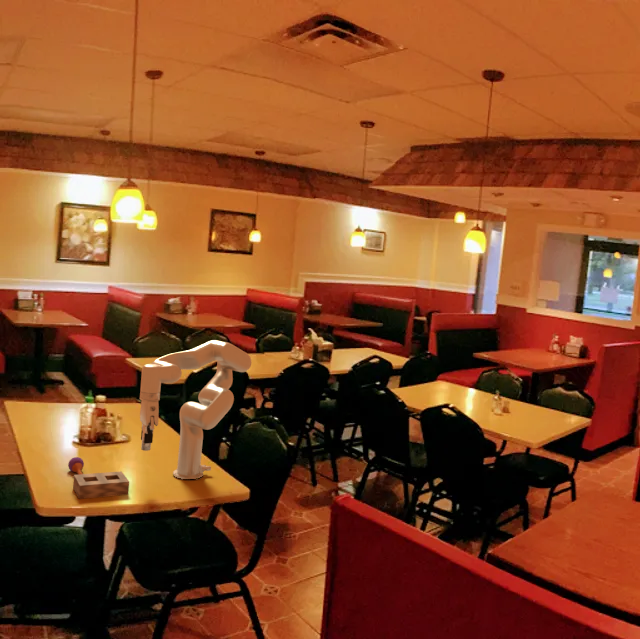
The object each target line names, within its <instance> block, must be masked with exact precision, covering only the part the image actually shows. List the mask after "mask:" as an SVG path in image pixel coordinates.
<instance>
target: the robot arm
mask: <svg viewBox="0 0 640 639" xmlns="http://www.w3.org/2000/svg"><path fill="white" fill-rule="evenodd" d="M214 361H216V363H217V365H216V373H215V374H214V376H213V377H212V378H211V379H210V380H209V381H208V382H207V383H206V385H204V387H203V388H202V389H201V390H200V391H199V393H198V401H199V402H196V401H187V402H185V403H183V405H182V406H181V407H180V409H179V421H180V422H179V423H180V432H179V436H180V437H179V447H178V455H177V456H178V457H177V468H176V469H175V470H173V471H172V475H174V476H175V478H176V477H177V478H176V479H178V478H181V479H180V480H183V479H196V478H200V477H202V476H203V477H204V471H205V472H207V471H209V472H210V471H211V470H212V466H211V465H206V464H201V460H202V451H203V450H202V449H203V440H204V431H203V430H207V431H208V430H211V429H213V428H215V427H216V426H217V425H218V423H219V422H220V421H221V420H222V419H223V418H224V417H225V415H226V414H228V412H229V411H230V410H231V408H232V407H233V404H234V401H235V398H234V397H235V396H234V394H233V392H232V391H231V390H230V388H231V387H232V386H233V380H234V378H233V371H235V372H239V373H245V372H247V371H249V369H251V366H252V358H251V356H250V355H249V353H247V352H246V351H243V350H242V349H240V348H239V347H237V346H235V345H234V344H232V343H230V342H227V341H221V340H218V339H212V340H208V341H206V342H205V343H202V344H200V345H198V346H195V347H193V348H191V349H188V350H183V351H178V352H173V353H169V354H166V355H163V356H161V357H159V358H156V359H155V360H154V361H152V362H151V363H147V364H144V365H143V366H142V368H141V377H140V378H141V380H140V393H139V400H140V401H141V402H140V408H139V410H140V411H139V421H140V422H141V434H140V436H141V437H140V440H141V441H142V433H143V424H144V425H145V426H146V433H145V434H144V443H145V444H146V443H151V444H153V441H154V440H153V438H154V430H155V427H157V426H159V415H160V414H159V413H160V412H159V408H160V406H159V401H160V400H161V399H160V398H161V386H162V384H163V383H164V384H165V383H167V384H169V383H170V384H172V383H173V384H174V383H176V382H178V381H179V380H180V379H181V377H182V373H183V372H182V370H185V371H186V370H189V371H190V370H197V369H201V368H202V367H205V366H206V365H208V364H211V363H212V362H214ZM148 424H150V425H148ZM148 427H150V428H148ZM174 476H173V477H174ZM203 477H202V478H203ZM200 479H201V478H200ZM196 480H197V479H196Z"/></svg>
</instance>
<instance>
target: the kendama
mask: <svg viewBox="0 0 640 639" xmlns="http://www.w3.org/2000/svg"><path fill="white" fill-rule="evenodd" d="M67 465H68V469H69V471H71V472H73V473H77V475H80V474H84V473H83V472H82V471H83V468H84V466H85V463H84V460H83V459H82V458H81V457H72V458H71V459H70V460H69V461H68V464H67Z"/></svg>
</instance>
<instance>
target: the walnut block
mask: <svg viewBox="0 0 640 639" xmlns="http://www.w3.org/2000/svg"><path fill="white" fill-rule="evenodd" d="M72 482H73V485H72V489H73V490H74V492H75V495H76V496H77V498H78V499H79V500H81V499H89V498H90V499H91V498H105V497H113V496H114V497H115V496H125V495H129V490H130V481H129V479H128V478H127V477H126V475H125V474H124V473H123V471H121V470H120V471H110V472H96V473H83V474H80V475H78V474H74V475H73V481H72Z"/></svg>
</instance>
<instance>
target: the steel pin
mask: <svg viewBox="0 0 640 639" xmlns="http://www.w3.org/2000/svg"><path fill="white" fill-rule="evenodd" d="M148 425H150V424H148ZM148 428H150V427H148ZM145 433H146V426H145V425H144V424H143V433H142V440H141V446H140V448H141V450H142V451H145V452H146V451H147V452H148V451H150V450H151V448H152V447H151V446H152V443H146V444H145V443H144V434H145Z"/></svg>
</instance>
